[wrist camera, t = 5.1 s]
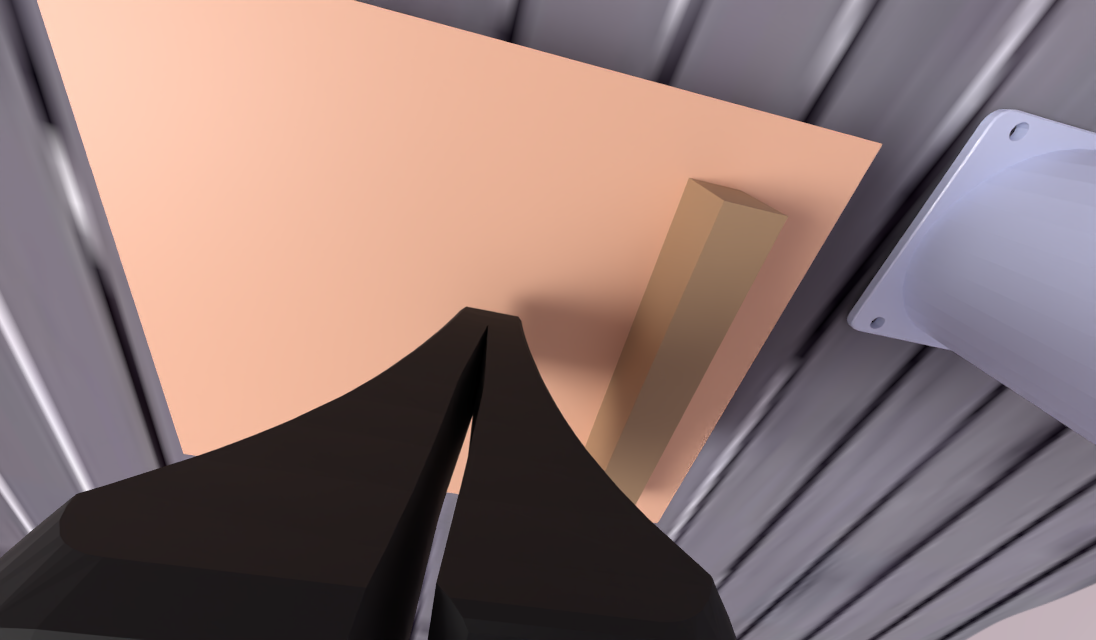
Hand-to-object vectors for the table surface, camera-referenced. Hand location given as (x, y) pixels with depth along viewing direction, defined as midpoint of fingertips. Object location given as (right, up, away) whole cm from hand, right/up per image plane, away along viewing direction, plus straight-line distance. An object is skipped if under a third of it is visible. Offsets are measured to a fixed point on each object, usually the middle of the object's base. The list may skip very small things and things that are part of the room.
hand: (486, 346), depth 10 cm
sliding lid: (-1, +1, +2) cm, 2 cm away
